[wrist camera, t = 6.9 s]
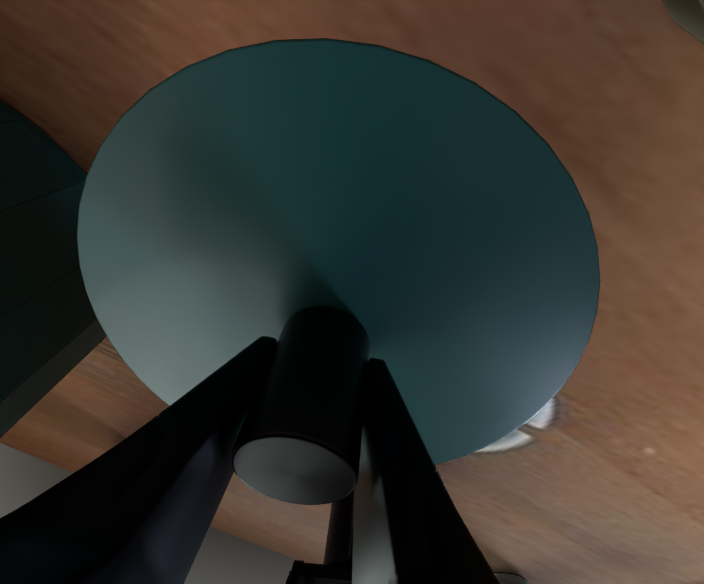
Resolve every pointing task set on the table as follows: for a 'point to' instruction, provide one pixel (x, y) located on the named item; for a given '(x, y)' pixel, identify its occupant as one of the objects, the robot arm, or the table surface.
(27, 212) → the pot
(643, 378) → the table surface
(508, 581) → the energy drink can
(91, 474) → the robot arm
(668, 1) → the squeeze bottle
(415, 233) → the lid
